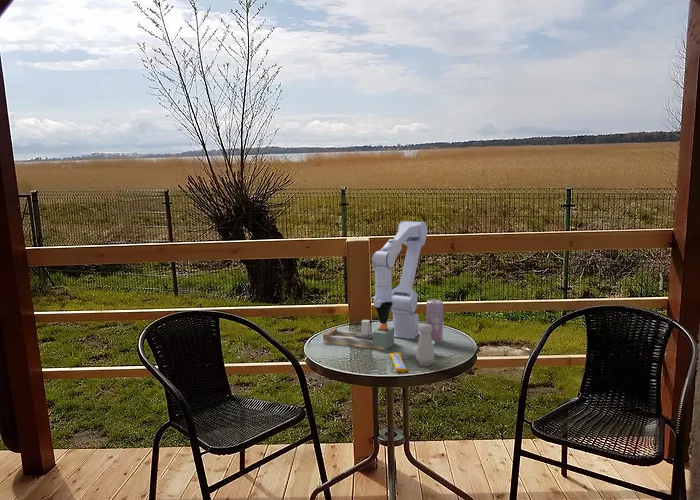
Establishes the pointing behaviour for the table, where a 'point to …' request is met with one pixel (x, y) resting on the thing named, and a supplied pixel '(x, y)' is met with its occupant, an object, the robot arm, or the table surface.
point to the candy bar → (398, 362)
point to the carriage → (365, 331)
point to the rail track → (347, 339)
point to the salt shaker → (425, 346)
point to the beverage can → (435, 319)
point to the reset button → (383, 327)
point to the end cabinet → (383, 338)
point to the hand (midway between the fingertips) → (383, 322)
